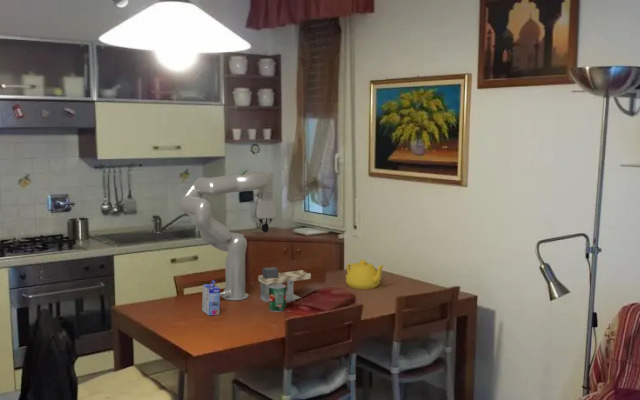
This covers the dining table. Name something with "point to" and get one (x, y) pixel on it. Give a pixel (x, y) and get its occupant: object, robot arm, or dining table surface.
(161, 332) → the dining table surface
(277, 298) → the canned tomato
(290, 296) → the beam stand
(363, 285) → the teapot
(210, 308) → the ink cartridge box
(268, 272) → the block
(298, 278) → the balance beam
